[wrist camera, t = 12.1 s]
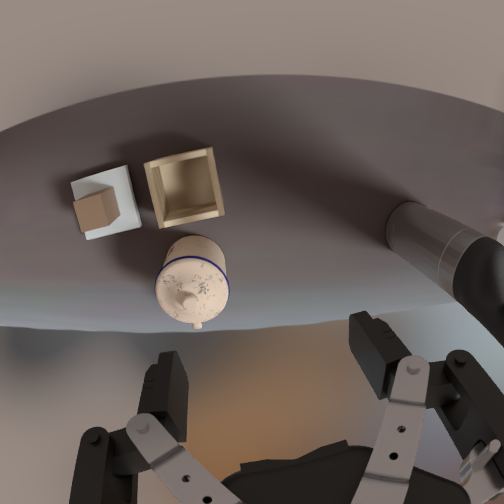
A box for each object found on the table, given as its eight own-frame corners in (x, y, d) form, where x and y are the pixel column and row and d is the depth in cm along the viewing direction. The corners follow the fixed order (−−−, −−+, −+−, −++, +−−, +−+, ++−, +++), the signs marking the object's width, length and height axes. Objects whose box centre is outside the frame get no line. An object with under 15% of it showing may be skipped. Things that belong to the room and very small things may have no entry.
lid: (129, 164, 37) (112, 169, 31) (143, 223, 40) (131, 239, 34) (76, 180, 37) (53, 189, 30) (91, 235, 40) (73, 253, 33)
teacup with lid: (161, 234, 41) (144, 269, 30) (225, 231, 42) (229, 265, 31) (170, 307, 46) (161, 355, 35) (228, 304, 47) (233, 353, 36)
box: (212, 146, 38) (211, 147, 32) (223, 203, 41) (224, 214, 35) (153, 159, 37) (143, 163, 32) (166, 215, 40) (159, 228, 35)
